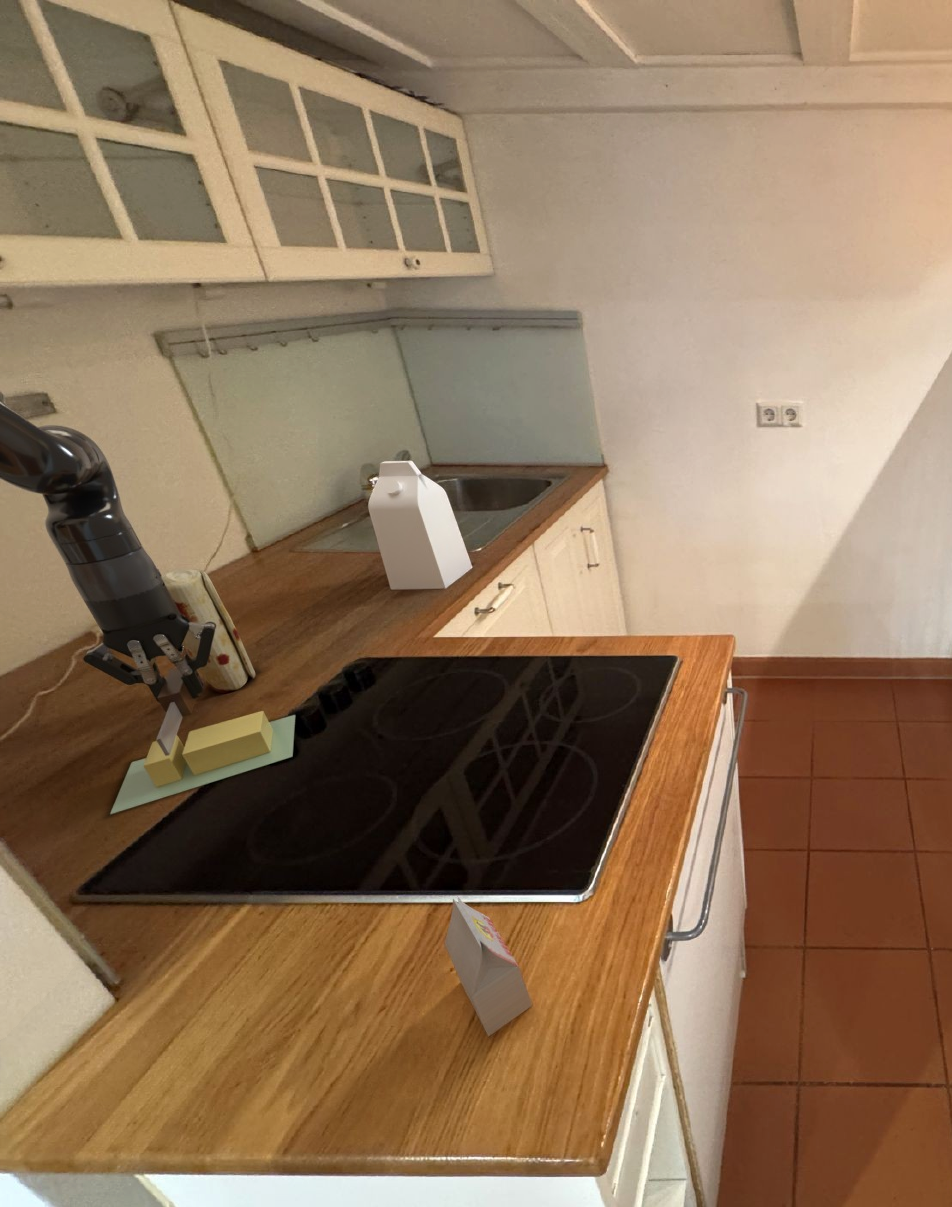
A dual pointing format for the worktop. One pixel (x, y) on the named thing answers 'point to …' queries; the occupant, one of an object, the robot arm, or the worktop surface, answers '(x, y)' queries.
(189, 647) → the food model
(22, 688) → the worktop surface
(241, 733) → the butter block
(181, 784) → the butter dish
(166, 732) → the butter knife
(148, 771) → the block
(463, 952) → the gable top carton
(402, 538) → the milk
